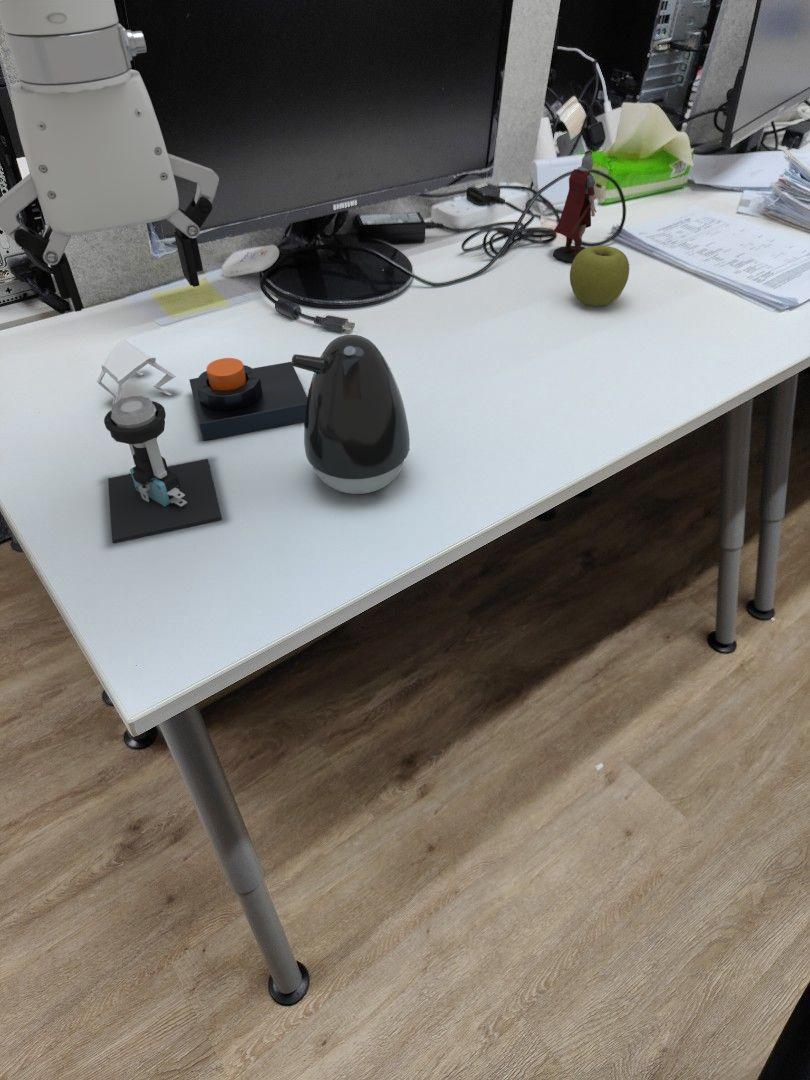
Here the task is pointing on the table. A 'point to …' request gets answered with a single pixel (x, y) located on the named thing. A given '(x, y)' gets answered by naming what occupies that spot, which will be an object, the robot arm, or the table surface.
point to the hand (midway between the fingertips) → (135, 292)
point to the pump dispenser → (354, 417)
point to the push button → (145, 447)
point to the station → (250, 402)
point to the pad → (152, 517)
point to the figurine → (577, 210)
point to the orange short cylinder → (226, 374)
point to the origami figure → (129, 367)
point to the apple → (599, 275)
